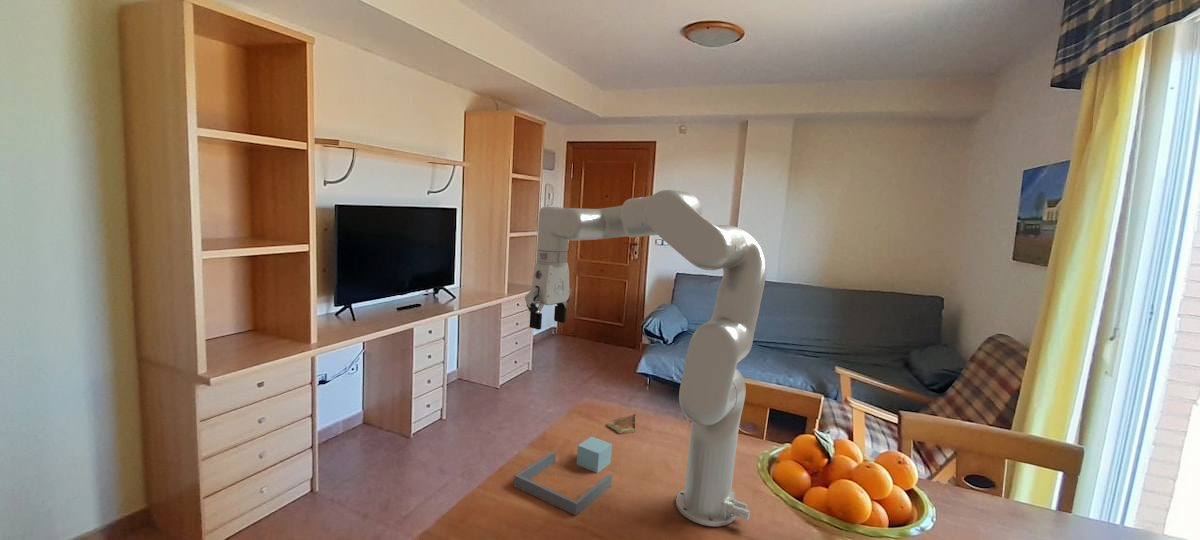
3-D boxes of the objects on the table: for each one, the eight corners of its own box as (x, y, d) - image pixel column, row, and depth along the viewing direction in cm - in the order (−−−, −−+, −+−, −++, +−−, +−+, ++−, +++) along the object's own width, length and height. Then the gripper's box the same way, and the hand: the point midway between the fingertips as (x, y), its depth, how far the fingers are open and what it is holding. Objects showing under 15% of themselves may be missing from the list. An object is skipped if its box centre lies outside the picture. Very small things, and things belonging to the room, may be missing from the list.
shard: (634, 418, 150) (635, 413, 150) (652, 429, 144) (652, 423, 144) (606, 426, 143) (606, 420, 143) (623, 437, 137) (623, 431, 137)
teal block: (610, 463, 123) (612, 444, 122) (597, 473, 118) (598, 453, 117) (590, 455, 126) (591, 436, 125) (576, 464, 121) (577, 445, 120)
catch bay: (611, 485, 113) (612, 475, 112) (575, 515, 101) (576, 504, 101) (552, 460, 122) (553, 451, 121) (513, 486, 110) (514, 475, 110)
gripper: (541, 261, 115) (537, 334, 117) (584, 257, 129) (579, 322, 131) (516, 257, 118) (513, 328, 121) (560, 253, 133) (556, 316, 135)
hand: (547, 325), depth 126 cm, fingers open, 9 cm apart
